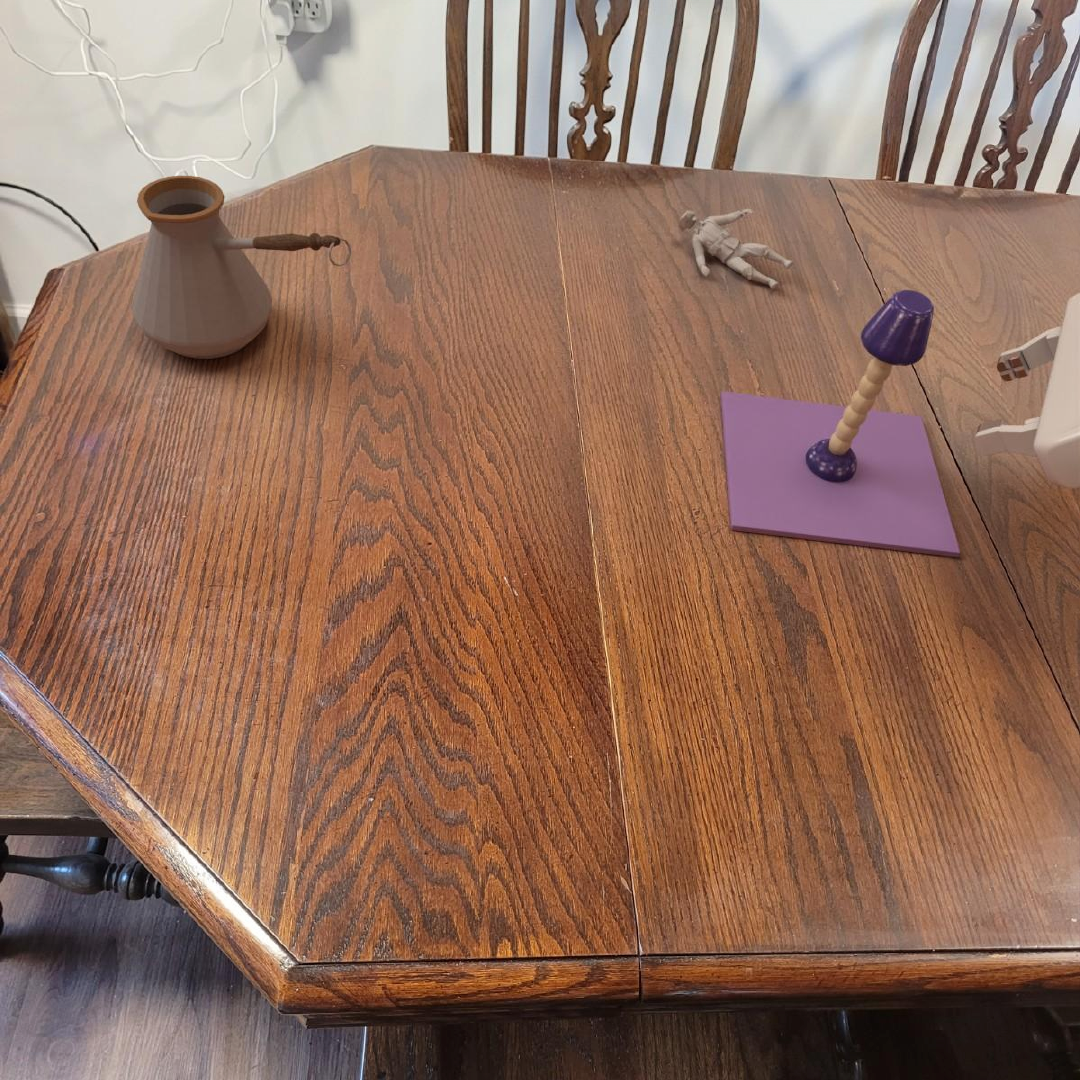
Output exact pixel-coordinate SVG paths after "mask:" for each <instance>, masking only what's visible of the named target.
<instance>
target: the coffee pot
mask: <svg viewBox="0 0 1080 1080" xmlns="http://www.w3.org/2000/svg"><path fill="white" fill-rule="evenodd" d="M225 197H226V196H225V194H224V192H223V190H222V188H221V187H220V186H219V185H218V184H217V183H215V182H214V181H212V180H210V179H207V178H203V177H201V176H195V175H194V176H193V175H173V176H166V177H163V178H157V179H156V180H154V181H151V182H149V183H147V184H146V185H145V186H143V187H142V188H141V190H140V191H139V192H138V195H137V200H136V203H137V206H138V208H139V210H140V212H141V213H142V215H143V216H144V217H145V218H146V219H147V220H148V221H150V223H151V224H150V227H149V231H148V236H147V240H146V243H145V244H146V245H145V248H144V253H143V257H142V260H141V265H140V268H139V273H138V277H137V278H138V279H137V280H136V281H137V282H136V286H135V290H134V293H133V298H132V301H131V314H132V317H133V321H134V323H135V324H136V326H137V328H139V329H140V331H141V332H142V333H143V334H144V336H146V338H148V340H150V341H151V342H153V343H155V344H156V345H158V347H161V348H163V349H165V350H168V351H170V352H174V353H176V354H178V355H181V356H183V357H186V358H191V359H197V360H200V359H201V360H210V359H217V358H222V357H223V358H224V357H226V356H229V355H232V354H235V353H236V352H238V351H239V350H241V349H243V348H244V347H246V346H247V344H249V343H250V342H252V341H253V340H254V339H255V338H256V337H258V335H259V334H260V333H261V332H262V331H263V330H264V329H265V327H266V325H267V323H268V321H269V319H270V317H271V313H272V309H273V296H272V294H271V292H270V289H269V287H268V285H267V284H266V283H265V281H264V279H263V278H262V276H261V275H260V274H259V272H258V271H257V268H255V266H254V265H253V263H252V262H251V261H250V259H249V258H248V256H247V255H246V254H245V252H244V250H248V249H256V250H266V251H284V252H297V251H300V250H304V249H311V250H312V251H319V250H320V249H322V248H327V249H328V252H327V255H328V260H329V261H330V263H331V264H332V265H333V266H336V267H343V266H345V265H347V263H348V262H349V260H351V255H352V246H351V244H350V243H349V241H348V239H344V238H340V237H339V236H335V235H329V234H325V235H323V236H321V235H320V234H319V233H317V232H313V233H310V235H303V234H297V233H283V234H282V233H281V234H274V235H273V234H272V235H263V236H256V237H234V236H233V235H232V233H231V231H230V230H229V229H228V228H227V226H226V225H225V223H224V222H223V220H222V219H221V217H220V210H221V209H222V208H223V206H224V204H225ZM342 242H344V243H345V244H346V246H347V250H348V254H347V257H346V259H345V260H344V262H343V263H336V262H335V261H334V260H333V258H332V257H333V256H332V250H333V248H334V247H337V246H340V245H341V243H342Z"/></svg>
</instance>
